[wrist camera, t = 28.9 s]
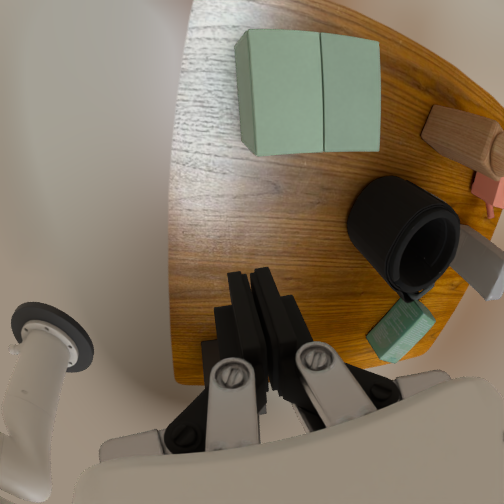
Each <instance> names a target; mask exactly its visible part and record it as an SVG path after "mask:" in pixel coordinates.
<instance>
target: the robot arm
mask: <svg viewBox="0 0 504 504" xmlns="http://www.w3.org/2000/svg"><path fill="white" fill-rule="evenodd" d="M227 276H228V283H229V290H230V296H231V303H232V305H228V306H221V307H215V308H214V315H215V323H216V331H217V339H218V347H219V354H220V361H219V362H218V363H217V364H216V365H215V366H214V367H213V368H212V370H211V374H210V384H209V385H208V386H207V387H206V388H205V389H204V391H203V392H202V393H201V394H200V395H199V396H198V397H197V398H196V399H195V400H194V401H193V402H192V403H191V404H190V405H189V406H188V407H187V408H186V409H185V410H184V411H183V412H182V413H181V414H180V415H179V416H178V417H177V418H176V419H175V420H174V421H173V422H172V423H171V424H169V426H168V427H167V428H166V429H163V430H159V431H158V430H157V429H154V430H150V431H146V432H142V433H137V434H133V435H129V436H124V437H119V438H114V439H110V440H107V441H105V442H104V443H103V444H102V445H101V447H100V449H99V460H100V463H99V464H96V465H94V466H92V467H90V468H88V469H86V470H85V471H84V472H82V473H81V474H80V476H79V478H78V479H77V482H76V485H75V488H74V493H73V502H72V504H504V398H503V397H502V395H501V394H500V393H499V392H498V390H497V389H496V388H495V387H494V386H493V385H492V384H491V383H490V382H489V381H487V380H486V379H484V378H480V377H460V378H455V379H451V378H450V376H449V375H448V374H447V373H446V372H445V371H442V370H433V371H428V372H423V373H418V374H413V375H407V376H401V377H397V378H396V379H395V380H390V379H388V378H386V377H383V376H380V375H377V374H374V373H372V372H369V371H366V370H363V369H361V368H358V367H355V366H352V365H350V364H347V363H344V362H343V361H342V359H341V358H340V356H339V355H338V354H337V352H336V351H335V350H334V349H333V348H332V347H331V346H330V345H328V344H326V343H323V342H314V341H313V339H312V337H311V335H310V332H309V330H308V328H307V326H306V323H305V321H304V319H303V317H302V315H301V312H300V310H299V308H298V306H297V304H296V301H295V299H294V297H293V296H292V295H287V296H281V297H280V295H279V292H278V290H277V287H276V285H275V282H274V280H273V277H272V275H271V272H270V270H269V268H268V267H263V268H257V269H255V272H254V273H250V280H251V289H250V285H249V282H248V278H247V275H246V274H241V271H237V272H231V273H227ZM21 336H22V340H23V341H22V343H20V344H19V345H9V352H10V353H11V354H19V357H18V359H17V362H16V364H15V367H14V370H13V372H12V375H11V378H10V381H9V384H8V387H7V390H6V393H5V396H4V399H3V402H2V416H3V420H4V422H5V425H6V428H7V430H8V433H9V435H10V436H7V435H5V434H3V433H1V432H0V489H1V490H3V491H5V492H7V493H9V494H11V495H14V496H16V497H18V498H21V499H23V500H26V501H30V502H37V503H38V502H44V501H46V500H47V499H48V498H49V497H50V495H51V491H52V477H51V462H50V450H51V439H52V432H53V427H54V421H55V416H56V411H57V406H58V402H59V397H60V393H61V389H62V385H63V381H64V377H65V374H66V370H67V367H71V366H73V365H75V363H76V362H77V360H78V355H79V353H78V349H77V346H76V344H75V343H74V341H73V340H72V339H71V338H70V337H69V336H68V335H67V334H66V333H65V332H64V331H63V330H61V329H60V328H58V327H57V326H55V325H53V324H51V323H48V322H45V321H41V320H30V321H28V322H26V323H25V324H24V326H23V328H22V331H21ZM268 376H269V380H270V384H271V387H272V390H273V391H274V390H278V393H279V396H283V399H284V400H287V401H289V402H291V403H292V407H293V409H294V410H295V413H296V414H297V417H298V418H299V420H300V422H301V424H302V426H303V428H304V430H305V432H306V434H303V435H299V436H296V437H291V438H287V439H282V440H278V441H274V442H268V443H263V444H261V440H260V422H259V412H260V411H261V409H262V408H263V407H264V405H265V404H266V403H267V398H266V392H268V391H269V388H268ZM0 504H15V503H13V502H11V501H9V500H6V499H4V498H2V497H0Z"/></svg>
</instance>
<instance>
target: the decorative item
mask: <svg viewBox="0 0 504 504" xmlns="http://www.w3.org/2000/svg"><path fill="white" fill-rule="evenodd" d="M421 137H422V139H423V140H424V141H425V142H427V143H428V144H429V145H430V146H431V147H433V148H434V149H435V150H436V151H437V152H438V153H440V154H441V155H442V156H445V157H447V158H449V159H452V160H454V161H456V162H458V163H460V164H463V165H465V166H467V167H469V168H471V169H473V170H475V171H477V172H479V173H481V174H483V175H485V176H487V177H489V178H491V179H493V180H494V181H499V180H500V179H501V177H504V131H503V129H502V128H501V126H500V125H499V123H498V122H497V121H495V120H492V119H489V118H486V117H482V116H479V115H475V114H472V113H468V112H464V111H461V110H457V109H453V108H448V107H444V106H439V105H434V106H433V107H432V109H431V112H430V114H429V117H428V119H427V122H426V124H425V127H424V129H423V131H422V134H421Z"/></svg>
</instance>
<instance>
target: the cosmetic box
mask: <svg viewBox="0 0 504 504" xmlns="http://www.w3.org/2000/svg"><path fill="white" fill-rule="evenodd" d="M449 266H450V267H452V268H453V269H454V270H455V271H456V272H457V273H458V274H459V275H460V276H461V277H462V278H463V279H465V280H466V281H467V282H468V283H469V284H470V285H471V286H472V287H473V288H474V289H475V290H476V291H477V292H478V293H479V294H480V295H481V296H482V297H483V298H484V299H485V301H489V300H495V299H500V298H501V296H502V294H503V292H504V251H502V250H501V249H500V248H498V247H497V246H496V245H494V244H493V243H492V242H491V241H489V240H488V239H486V238H485V237H484V236H482V235H481V234H479V233H478V232H477V231H475V230H474V229H472V228H471V227H469V226H467V225H461V224H460V238H459V244H458V248H457V252H456V255H455V258H454V260H453V261H452V262H451V263H450V265H449Z"/></svg>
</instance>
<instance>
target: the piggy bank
mask: <svg viewBox="0 0 504 504" xmlns="http://www.w3.org/2000/svg"><path fill="white" fill-rule="evenodd" d="M471 193H472V194H474V195H476V196H477V197H479V198H481V199H482V200H484V201H485V202H486V208H487V215H488V218H494V212H493V206H495V207H499V208H503V209H504V177H501V179H500V180H499V181H494V180H493V179H491V178H489V177H487V176H485V175H483V174H481V173H479V172H477V173H476V177H475V181H474V183H473V184H472V191H471Z"/></svg>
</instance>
